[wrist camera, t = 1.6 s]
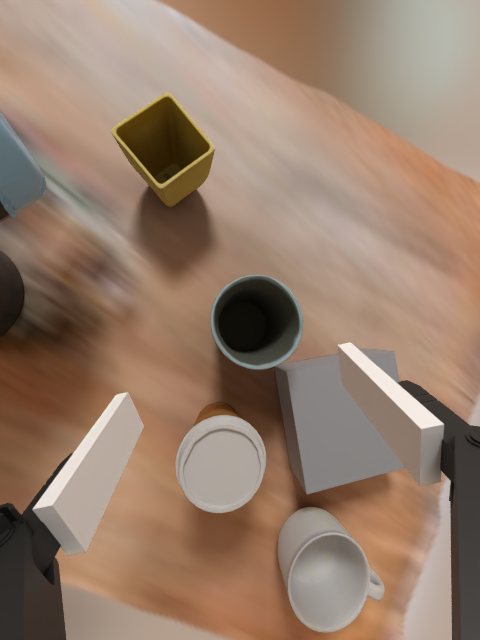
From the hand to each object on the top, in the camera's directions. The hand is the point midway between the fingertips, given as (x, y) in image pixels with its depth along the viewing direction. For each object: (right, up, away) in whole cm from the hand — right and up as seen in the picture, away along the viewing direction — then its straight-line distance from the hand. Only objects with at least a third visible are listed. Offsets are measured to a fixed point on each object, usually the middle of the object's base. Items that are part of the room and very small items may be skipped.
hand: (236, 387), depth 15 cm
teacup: (+12, -29, +22) cm, 38 cm away
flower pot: (-10, +25, +22) cm, 35 cm away
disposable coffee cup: (-3, -11, +21) cm, 24 cm away
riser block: (+15, -10, +24) cm, 29 cm away
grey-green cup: (+1, +3, +23) cm, 23 cm away
